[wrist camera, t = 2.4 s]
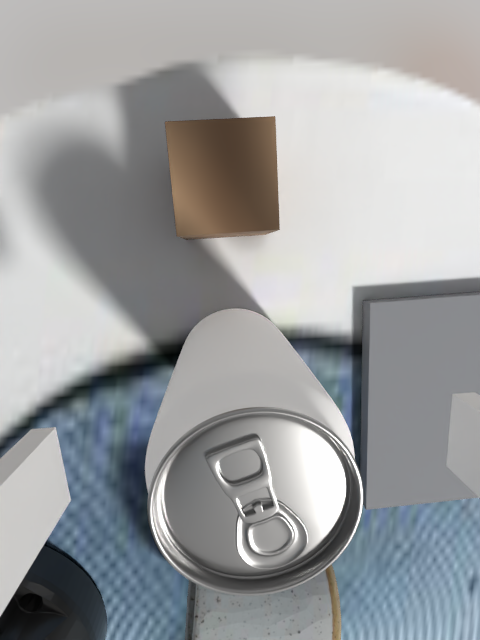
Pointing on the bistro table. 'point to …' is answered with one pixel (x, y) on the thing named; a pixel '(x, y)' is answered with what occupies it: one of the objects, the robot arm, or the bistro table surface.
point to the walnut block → (223, 177)
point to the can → (249, 462)
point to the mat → (415, 394)
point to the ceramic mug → (267, 613)
